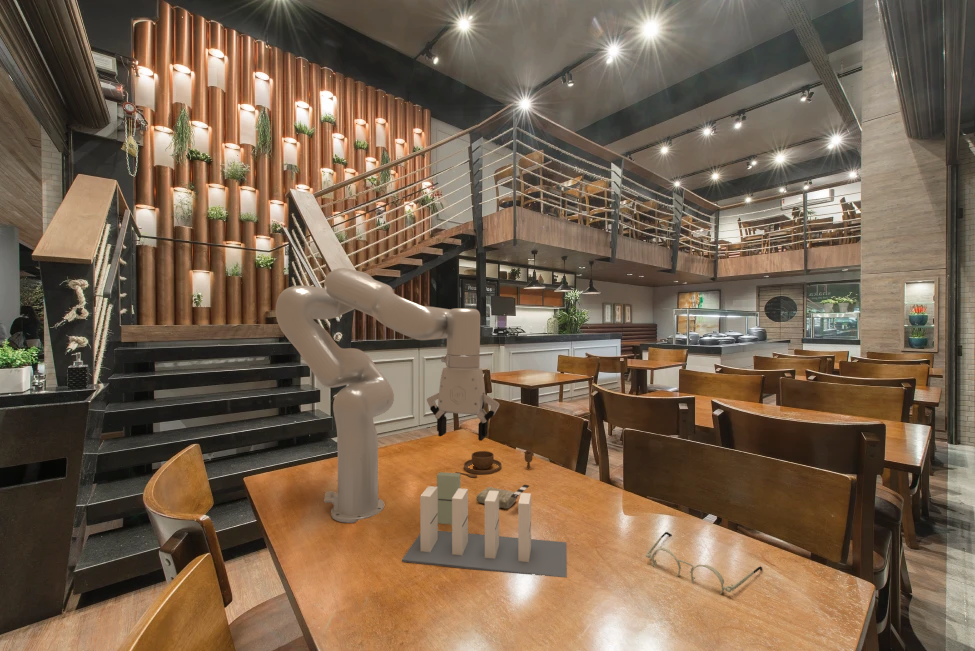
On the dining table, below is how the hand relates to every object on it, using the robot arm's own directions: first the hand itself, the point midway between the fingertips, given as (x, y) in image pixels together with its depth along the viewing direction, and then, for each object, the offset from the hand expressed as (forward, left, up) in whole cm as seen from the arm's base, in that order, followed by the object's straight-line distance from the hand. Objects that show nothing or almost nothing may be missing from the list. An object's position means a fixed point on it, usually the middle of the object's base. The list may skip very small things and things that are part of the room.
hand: (461, 436), depth 95 cm
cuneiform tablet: (+13, +9, -17) cm, 23 cm away
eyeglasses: (+48, -9, -20) cm, 53 cm away
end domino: (-3, -1, -20) cm, 20 cm away
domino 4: (+16, -12, -19) cm, 27 cm away
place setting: (+1, +35, -20) cm, 40 cm away
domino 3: (+9, -12, -19) cm, 24 cm away
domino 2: (+3, -12, -19) cm, 22 cm away
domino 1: (-4, -12, -19) cm, 23 cm away
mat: (+8, -12, -20) cm, 24 cm away
